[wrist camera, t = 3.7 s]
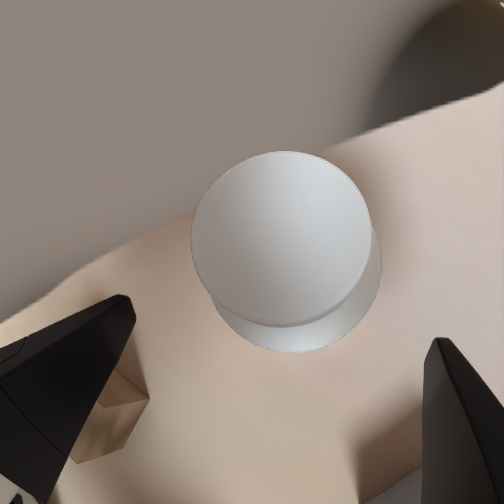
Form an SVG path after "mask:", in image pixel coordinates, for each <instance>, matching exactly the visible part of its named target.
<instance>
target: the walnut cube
mask: <svg viewBox="0 0 504 504" xmlns="http://www.w3.org/2000/svg"><path fill="white" fill-rule="evenodd" d="M149 400H150V398H148V397H147V396H146V395H145V394H144V393H142V392H141V391H140V390H139V389H138V388H137V387H135V386H134V385H133V384H132V383H131V382H130V381H129V380H127V379H126V378H125V377H124V376H123V375H122V374H121V373H120V372H119V371H117V370H116V369H115V368H114V370H113V372H112V374H111V376H110V377H109V379H108V381H107V383H106V385H105V387H104V388H103V390H102V392H101V394H100V396H99V398H98V400H97V401H96V403H95V405H94V407H93V409H92V411H91V413H90V415H89V417H88V419H87V420H86V422H85V424H84V426H83V428H82V430H81V432H80V434H79V436H78V438H77V440H76V442H75V444H74V446H73V448H72V450H71V452H70V454H69V456H70V457H71V458H72V459H73V460H74V462H75V463H76V464H79V463H82V462H85V461H88V460H91V459H94V458H97V457H100V456H102V455H105V454H108V453H111V452H114V451H116V450H119V449H122V448H123V446H124V444H125V442H126V441H127V439H128V437H129V435H130V433H131V432H132V430H133V428H134V426H135V424H136V423H137V421H138V419H139V417H140V416H141V414H142V412H143V410H144V408H145V407H146V405H147V403H148V401H149Z"/></svg>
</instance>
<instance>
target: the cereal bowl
mask: <svg viewBox="0 0 504 504" xmlns="http://www.w3.org/2000/svg"><path fill="white" fill-rule="evenodd" d="M18 493H19V494H20V495H21V496H22V499H23V504H38V502H37V501H36V499H35V498H34V497H33V496H32V495H30V494H29V493H27V492H25V491H24V490H22V489H21V488H20V489H19V491H18Z"/></svg>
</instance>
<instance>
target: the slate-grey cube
mask: <svg viewBox="0 0 504 504" xmlns="http://www.w3.org/2000/svg"><path fill="white" fill-rule="evenodd" d="M421 487H422V466H420V467H419V468H418V469H416V470H415V471H413V472H412V473H411V474H409V475H408V476H406V477H405V478H403V479H402V480H400V481H399V482H398V483H396V484H394V485H393V486H391V487H390V488H388V489H387V490H385V491H384V492H382V493H380V494H379V495H377V496H375V497H374V498H372V499H370V500H369V501H367V502H365V503H363V504H420V503H421Z"/></svg>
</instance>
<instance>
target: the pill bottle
mask: <svg viewBox="0 0 504 504" xmlns="http://www.w3.org/2000/svg"><path fill="white" fill-rule="evenodd" d="M191 251H192V257H193V261H194V265H195V268H196V271H197V274H198V276H199V278H200V280H201V282H202V284H203V285H204V287H205V288H206V290H207V291H208V292H209V294H210V295H211V298H212V300H213V303H214V305H215V307H216V309H217V311H218V312H219V314H220V315H221V317H222V318H223V319H224V321H225V322H226V323H227V324H228V325H229V326H230V327H231V328H232V329H233V330H234V331H235V332H236V333H237V334H239V335H240V336H242V337H243V338H244V339H246V340H248V341H249V342H251V343H253V344H255V345H258V346H260V347H263V348H266V349H270V350H274V351H280V352H290V353H295V352H307V351H312V350H316V349H319V348H322V347H325V346H328V345H330V344H332V343H334V342H336V341H338V340H339V339H341V338H342V337H344V336H345V335H346V334H348V333H349V332H350V331H351V330H352V329H353V328H355V326H356V325H357V324H358V323H359V322H360V321H361V320H362V319H363V317H364V316H365V315H366V313H367V312H368V310H369V309H370V307H371V305H372V303H373V301H374V299H375V296H376V294H377V291H378V287H379V283H380V279H381V271H382V256H381V248H380V244H379V240H378V236H377V234H376V231H375V229H374V227H373V225H372V223H371V219H370V215H369V211H368V208H367V205H366V202H365V200H364V198H363V196H362V194H361V193H360V191H359V189H358V188H357V186H356V185H355V184H354V183H353V181H352V180H351V179H350V178H349V177H348V176H347V175H346V174H345V173H344V172H343V171H342V170H340V169H339V168H338V167H336V166H335V165H333V164H332V163H330V162H328V161H326V160H324V159H322V158H320V157H317V156H314V155H311V154H307V153H302V152H295V151H273V152H268V153H263V154H259V155H256V156H253V157H250V158H248V159H246V160H244V161H242V162H240V163H238V164H236V165H234V166H233V167H231V168H230V169H228V170H227V171H226V172H224V173H223V174H222V175H221V176H220V177H219V178H218V179H217V180H216V181H215V182H214V183H213V184H212V186H211V187H210V188H209V189H208V190H207V192H206V194H205V195H204V196H203V198H202V200H201V202H200V204H199V206H198V208H197V211H196V214H195V217H194V221H193V225H192V231H191Z"/></svg>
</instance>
